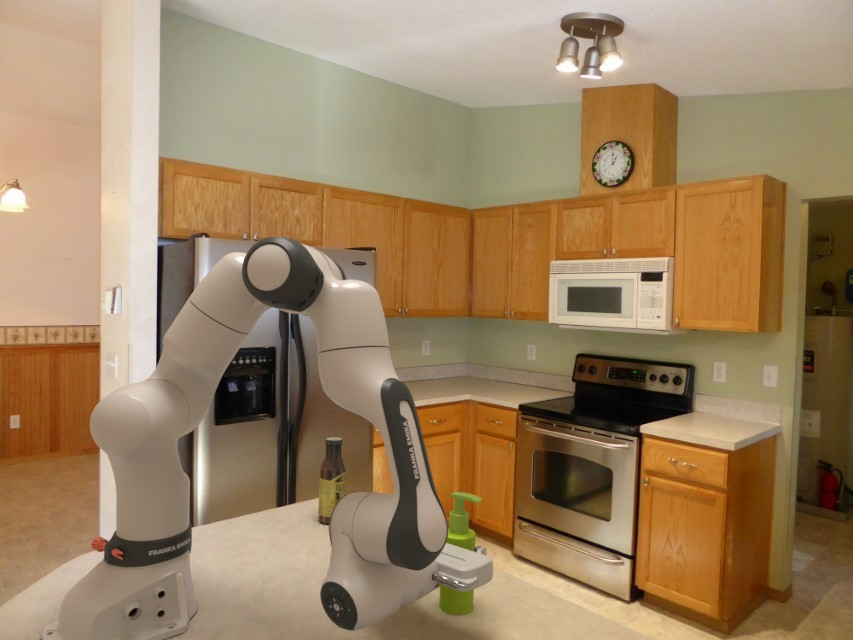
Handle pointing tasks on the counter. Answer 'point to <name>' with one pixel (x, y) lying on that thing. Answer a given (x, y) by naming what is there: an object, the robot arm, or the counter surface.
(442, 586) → the soap dispenser
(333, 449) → the sauce bottle
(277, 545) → the counter surface
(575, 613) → the counter surface
